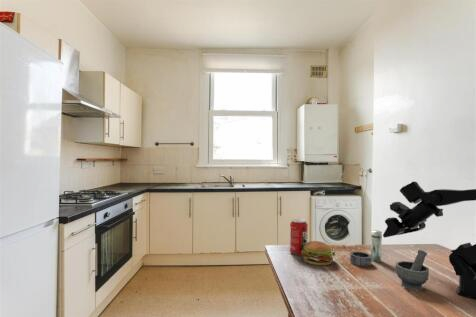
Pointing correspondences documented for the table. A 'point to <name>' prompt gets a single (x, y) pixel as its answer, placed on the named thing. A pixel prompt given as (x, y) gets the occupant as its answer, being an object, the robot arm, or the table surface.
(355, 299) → the table surface
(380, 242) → the tube
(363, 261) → the collar ring
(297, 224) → the soda can
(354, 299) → the table surface
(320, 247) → the food
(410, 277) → the mortar and pestle
